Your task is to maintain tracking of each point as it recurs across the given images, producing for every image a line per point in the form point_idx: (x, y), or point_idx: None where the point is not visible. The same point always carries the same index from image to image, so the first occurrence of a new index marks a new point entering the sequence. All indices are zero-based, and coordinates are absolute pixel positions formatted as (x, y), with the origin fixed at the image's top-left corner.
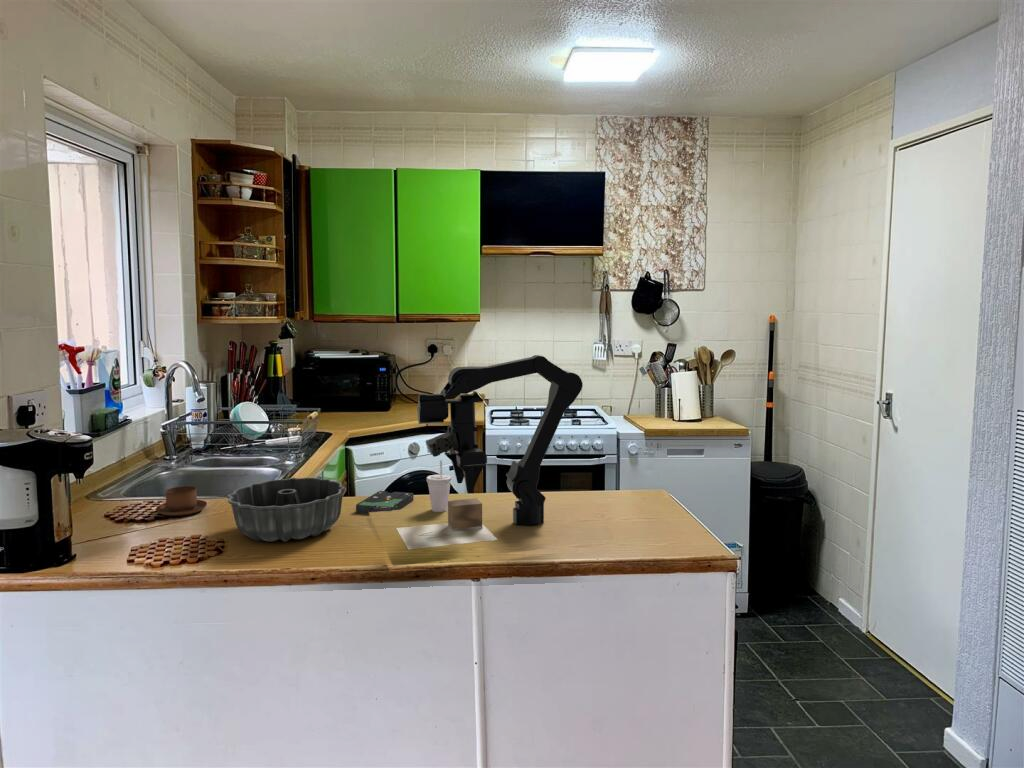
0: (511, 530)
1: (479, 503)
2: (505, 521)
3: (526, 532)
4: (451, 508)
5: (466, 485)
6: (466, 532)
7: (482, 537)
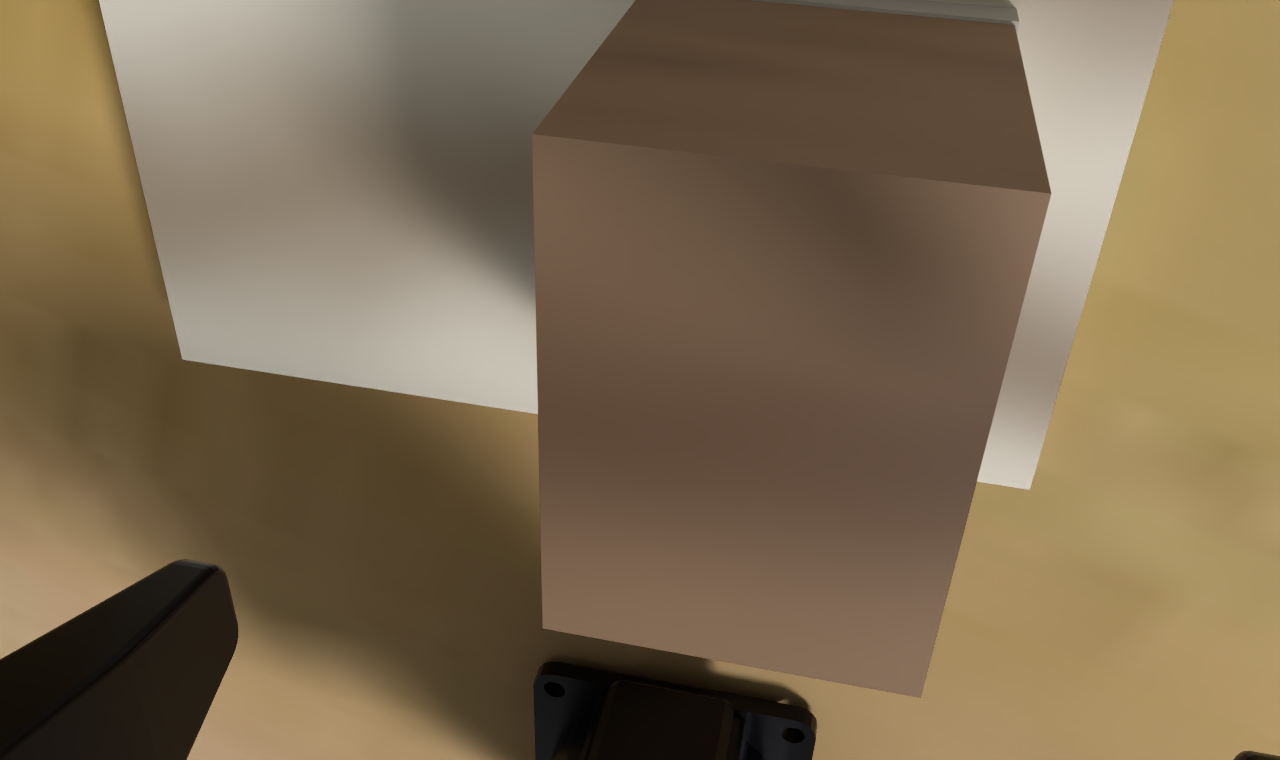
0: None
1: (556, 600)
2: (978, 708)
3: (533, 685)
4: (678, 117)
5: (11, 662)
6: None
7: (289, 250)
